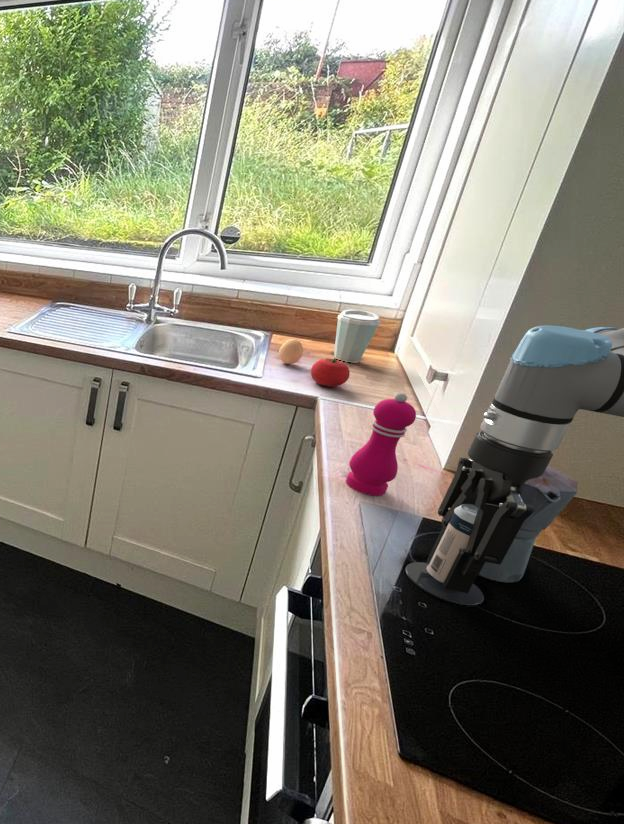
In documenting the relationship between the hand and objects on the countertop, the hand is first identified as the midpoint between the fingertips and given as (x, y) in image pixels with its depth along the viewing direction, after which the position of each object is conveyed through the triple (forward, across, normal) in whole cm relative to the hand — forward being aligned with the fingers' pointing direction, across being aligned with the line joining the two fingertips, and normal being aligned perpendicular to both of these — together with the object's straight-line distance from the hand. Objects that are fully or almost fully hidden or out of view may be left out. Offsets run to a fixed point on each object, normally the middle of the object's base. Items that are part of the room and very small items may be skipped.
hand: (446, 576), depth 87 cm
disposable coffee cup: (+2, -114, +18) cm, 116 cm away
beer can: (0, 0, 0) cm, 0 cm away
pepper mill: (+2, -28, -2) cm, 28 cm away
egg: (+2, -102, 0) cm, 102 cm away
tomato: (+2, -87, +6) cm, 87 cm away
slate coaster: (+1, 0, 0) cm, 1 cm away
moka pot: (+2, -9, +8) cm, 12 cm away
